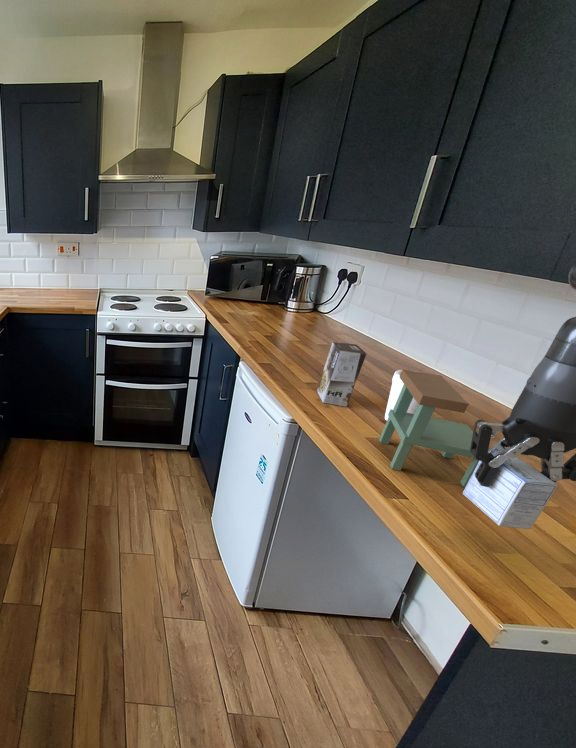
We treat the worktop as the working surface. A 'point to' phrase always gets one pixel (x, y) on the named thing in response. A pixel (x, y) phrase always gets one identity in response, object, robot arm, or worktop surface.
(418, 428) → the step stool
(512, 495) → the medicine box
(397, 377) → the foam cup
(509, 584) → the worktop surface
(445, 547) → the worktop surface
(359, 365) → the coffee box
